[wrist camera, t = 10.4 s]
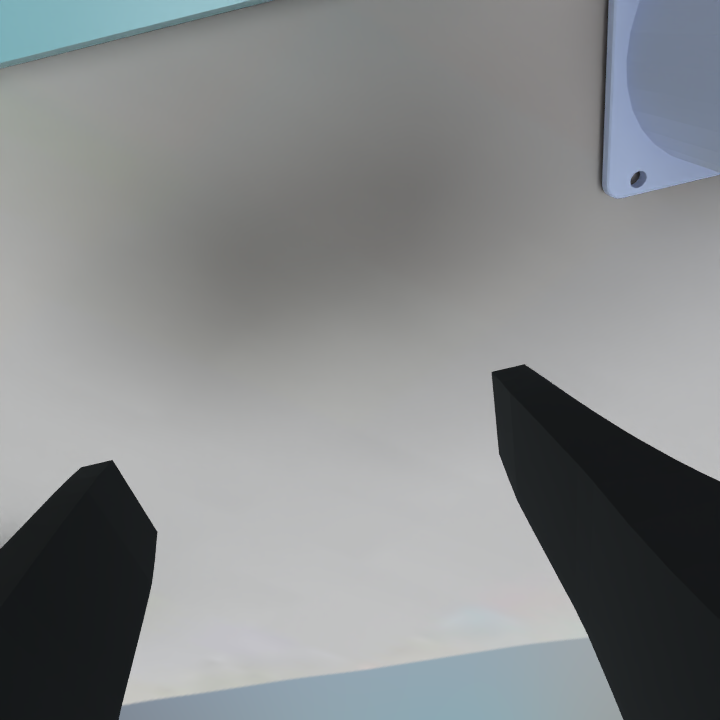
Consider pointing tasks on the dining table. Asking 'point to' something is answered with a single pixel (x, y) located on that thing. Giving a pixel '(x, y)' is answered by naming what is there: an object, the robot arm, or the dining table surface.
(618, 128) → the robot arm
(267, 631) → the dining table surface
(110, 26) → the acrylic wall
